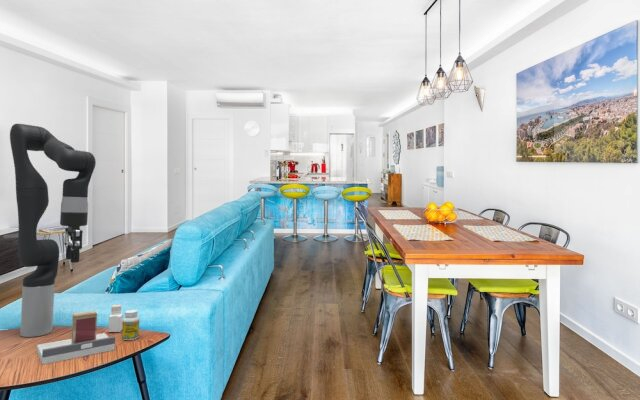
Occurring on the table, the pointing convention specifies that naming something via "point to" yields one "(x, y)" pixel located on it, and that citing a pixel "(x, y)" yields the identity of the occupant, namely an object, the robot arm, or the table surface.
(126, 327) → the supplement bottle
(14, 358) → the table surface
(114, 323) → the pepper shaker
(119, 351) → the table surface
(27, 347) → the table surface
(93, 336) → the tea box
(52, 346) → the shelf
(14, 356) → the table surface
